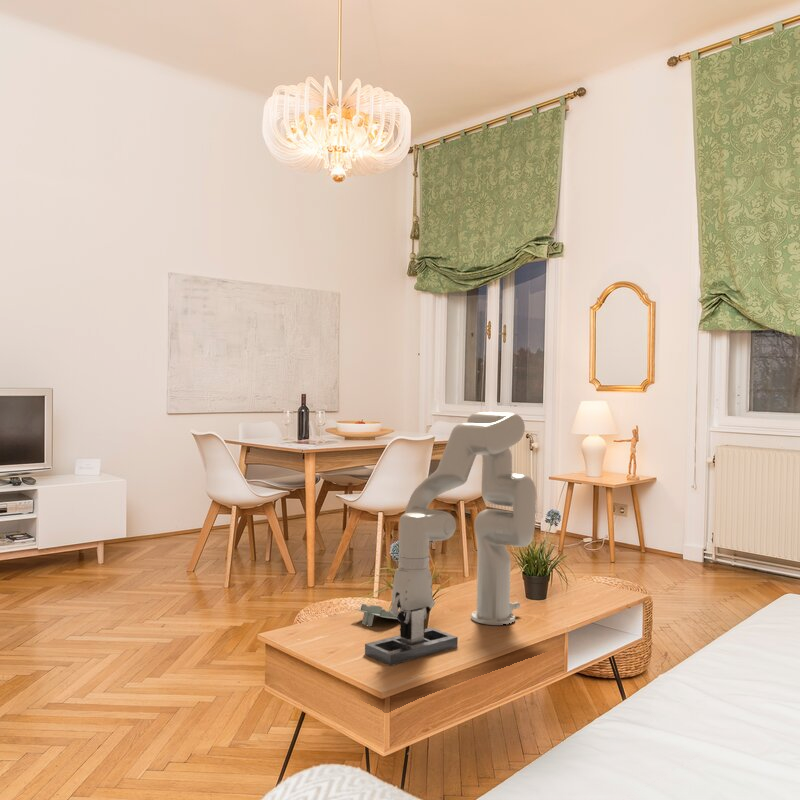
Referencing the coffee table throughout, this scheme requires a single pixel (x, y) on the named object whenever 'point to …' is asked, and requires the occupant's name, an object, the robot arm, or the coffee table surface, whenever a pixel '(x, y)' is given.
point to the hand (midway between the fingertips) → (412, 635)
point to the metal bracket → (374, 613)
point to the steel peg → (415, 628)
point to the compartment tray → (410, 647)
